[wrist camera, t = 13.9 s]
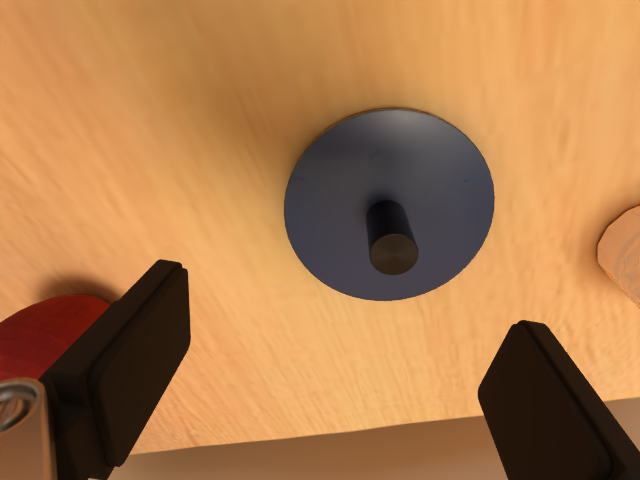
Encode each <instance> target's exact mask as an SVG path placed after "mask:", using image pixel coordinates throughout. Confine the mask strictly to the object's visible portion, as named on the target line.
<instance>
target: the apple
mask: <svg viewBox="0 0 640 480" xmlns="http://www.w3.org/2000/svg"><path fill="white" fill-rule="evenodd" d="M109 306H110V304H109V303H107V302H106V301H105V300H103V299H101V298H98V297H95V296H90V295H85V294H74V295H64V296H59V297H55V298H51V299H48V300H45V301H42V302H39V303H36V304H33V305H31V306H29V307H27V308H24V309H22V310H20V311H18V312H17V313H15V314H13V315H12V316H10V317H8V318H7V319H5V320H4V321H2V322H0V381H2V380H7V379H12V378H31V379H35V380H38V379H39V378H40V377H41V376H42V375H43V374H44V372H45V371H46V370H47V369H48V368H49V367H50V366H51V365H52V364H53V363H54V362H55V361H56V360H57V359H58V358H59V357H60V356H61V355H62V354H63V353H64V352H65V351H66V350H67V349H68V348H69V347H70V346H71V345H72V344H73V343H74V342H75V341H76V340H77V339H78V338H79V337H80V336H81V335H82V334H83V333H84V332H85V331H86V330H87V329H88V328H89V327H90V326H91V325H92V324H93V323H94V322H95V321H96V320H97V319H98V318H99V317H100V316H101V315H102V314H103V312H104V311H105V310H106V309H107V308H108V307H109Z"/></svg>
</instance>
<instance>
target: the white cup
mask: <svg viewBox="0 0 640 480" xmlns="http://www.w3.org/2000/svg"><path fill="white" fill-rule="evenodd" d="M598 264H599V265H600V266H601V267H602V269H603V270H604V271H605V273H606V274H607V275H608V276H609V277H610V278H611V279H612V280H613V281H614V282H615V283H616V284H617V285H618V286H619V287H620V288H622V290H623V292H624V293H625V294H626V295H627V296H628V298H630V299H631V300H632V301H633V302H634V303H635V304H636V305H637V307H638V308H639V309H640V206H637V207H635V208H632V209H630V210H628V211H626V212H625V213H624V214H623V215H621V216H620V217H619V218H618V219H617V220H615V221H614V222H613V223H612V224H611V225H610V226H608V228H607V229H606V231H605V233H604V235H603V236H602V238H601V240H600V242H599V244H598Z"/></svg>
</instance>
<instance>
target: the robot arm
mask: <svg viewBox="0 0 640 480" xmlns="http://www.w3.org/2000/svg"><path fill="white" fill-rule="evenodd" d="M190 340H191V334H190V310H189V286H188V271H187V269H185V268H182V264H181V263H180V262H174V261H168V260H162V259H160V260H158V261H156V263H155V264H154V265H153V266H152V267H151V268H150V269H149V270H148V271H147V272H146V273H145V274H144V275H143V276H142V277H141V278H140V279H139V280H138V281H137V282H136V283H135V284H134V285H133V286H132V287H131V288H130V289H129V290H128V291H127V292H126V293H125V295H124V296H123V297H122V298H121V299H120V300H119V301H115V302H114V303H113V304H112V305H110V306H109V307H108V308H107V309H106V310H105V311H104V312H103V314H102V315H101V316H100V317H99V318H98V319H97V320H96V321H95V322H94V323H93V324H92V325H91V326H90V327H89V328H88V329H87V330H86V331H85V332H84V333H83V334H82V335H81V336H80V337H79V338H78V339H77V340H76V341H75V342H74V343H73V344H72V345H71V346H70V347H69V348H68V349H67V350H66V351H65V352H64V353H63V354H62V355H61V356H60V357H59V358H58V359H57V360H56V361H55V362H54V363H53V364H52V365H51V366H50V367H49V368H48V369H47V370H46V371H45V372H44V374H43V375H42V376H41V377H40V378H39V379H38V380H35V379H31V378H12V379H7V380H2V381H0V480H88V478H92V479H98V480H107V479H108V477H109V476H110V474H111V472H112V471H113V469H114V467H115V466H117V467H120V466H121V465H122V464H123V463H124V462H125V460H126V459H127V457H128V455H129V454H130V452H131V450H132V448H133V446H134V445H135V443H136V441H137V439H138V438H139V436H140V434H141V432H142V431H143V429H144V427H145V425H146V423H147V422H148V420H149V418H150V416H151V415H152V413H153V411H154V409H155V408H156V406H157V404H158V402H159V400H160V399H161V397H162V395H163V393H164V392H165V390H166V388H167V386H168V384H169V383H170V381H171V379H172V377H173V376H174V374H175V372H176V370H177V369H178V367H179V365H180V363H181V361H182V360H183V358H184V356H185V354H186V353H187V351H188V348H189V345H190ZM478 399H479V403H480V405H481V408H482V411H483V413H484V416H485V419H486V421H487V424H488V427H489V429H490V432H491V435H492V437H493V440H494V443H495V445H496V448H497V451H498V453H499V456H500V459H501V461H502V464H503V467H504V470H505V472H506V475H507V478H508V480H640V452H639V450H638V449H637V448H636V446H635V445H634V443H633V442H632V441H631V439H630V438H629V437H628V435H627V434H626V433H625V431H624V430H623V428H622V427H621V426H620V424H619V423H618V422H617V420H616V419H615V418H614V416H613V415H612V414H611V412H610V411H609V409H608V408H607V407H606V405H605V404H604V403H603V401H602V400H601V399H600V397H599V396H598V394H597V393H596V392H595V390H594V389H593V388H592V386H591V385H590V384H589V382H588V381H587V380H586V378H585V377H584V375H583V374H582V373H581V371H580V370H579V369H578V367H577V366H576V365H575V363H574V362H573V360H572V359H571V358H570V356H569V355H568V354H567V352H566V351H565V350H564V348H563V347H562V346H561V344H560V343H559V341H558V340H557V339H556V337H555V336H554V335H553V333H552V332H551V331H550V329H549V328H548V327H547V326H546V325H545V324H543V323H538V322H532V321H526V320H521V321H519V322H518V323H517V324H513V325H512V326H511V327H510V329H509V331H508V333H507V335H506V337H505V339H504V341H503V342H502V344H501V346H500V348H499V350H498V352H497V354H496V356H495V358H494V359H493V361H492V363H491V365H490V367H489V369H488V371H487V373H486V375H485V376H484V378H483V380H482V382H481V384H480V386H479V388H478Z"/></svg>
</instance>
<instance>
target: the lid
mask: <svg viewBox="0 0 640 480" xmlns="http://www.w3.org/2000/svg"><path fill="white" fill-rule="evenodd" d="M494 197H495V196H494V187H493V181H492V178H491V174H490V170H489V168H488V166H487V164H486V162H485V159H484V157H483V156H482V154H481V153H480V151H479V150H478V148H477V147H476V146H475V145H474V143H473V142H472V141H471V140H470V139H469V138H468V137H467V136H466V135H465V134H464V133H462V132H461V131H460V130H459V129H457V128H456V127H455V126H453V125H451V124H450V123H448V122H446V121H444V120H443V119H441V118H438V117H436V116H433V115H431V114H428V113H425V112H421V111H417V110H412V109H402V108H387V109H377V110H372V111H367V112H363V113H360V114H357V115H354V116H351V117H349V118H347V119H345V120H343V121H341V122H339V123H337V124H335V125H334V126H332V127H331V128H329V129H328V130H326V131H325V132H324V133H323V134H321V135H320V136H319V137H318V138H317V139H316V140H314V141H313V143H312V144H311V145H310V146H309V147H308V148H307V149H306V151H305V152H304V153H303V155H302V156H301V158H300V159H299V161H298V162H297V164H296V166H295V168H294V170H293V172H292V175H291V177H290V180H289V183H288V186H287V189H286V195H285V201H284V218H285V226H286V230H287V234H288V238H289V240H290V243H291V245H292V248H293V249H294V251H295V253H296V255H297V256H298V258H299V259H300V261H301V262H302V263H303V265H304V266H305V267H306V268H307V269H308V270H309V271H310V272H311V273H312V274H313V275H314V276H315V277H316V278H317V279H319V280H320V281H321V282H323V283H324V284H326V285H327V286H329V287H331V288H332V289H334V290H337V291H339V292H341V293H343V294H346V295H349V296H352V297H356V298H361V299H365V300H374V301H392V300H402V299H407V298H411V297H415V296H418V295H421V294H425V293H427V292H429V291H431V290H434V289H436V288H438V287H440V286H441V285H443V284H445V283H447V282H448V281H449V280H451V279H452V278H454V277H455V276H456V275H458V274H459V273H460V272H461V271H462V270H463V269H464V268H465V267H466V266H467V265H468V264H469V263H470V262H471V260H472V259H473V258H474V257H475V256H476V254H477V253H478V251H479V250H480V248H481V247H482V245H483V243H484V241H485V239H486V237H487V234H488V232H489V229H490V226H491V223H492V217H493V212H494Z"/></svg>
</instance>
